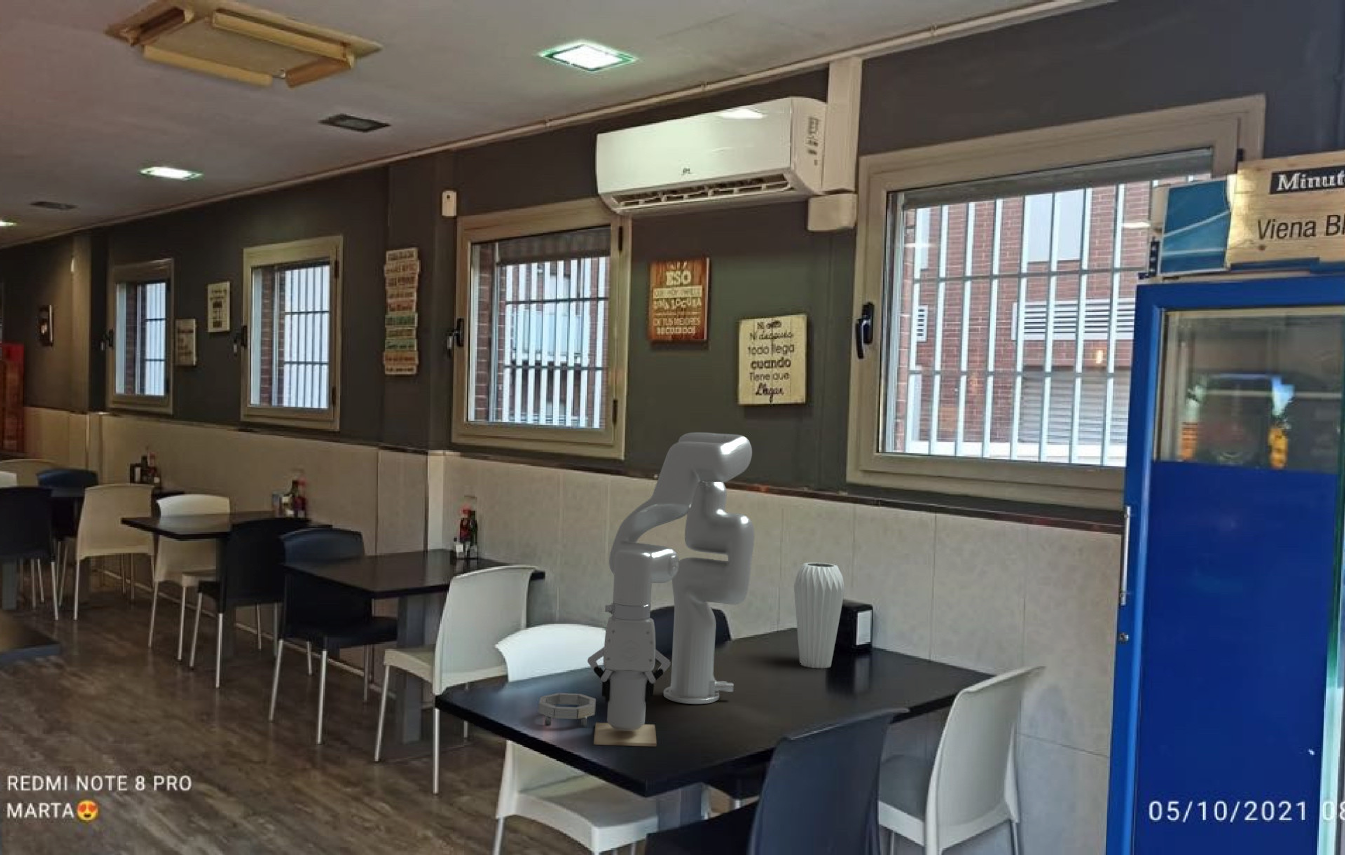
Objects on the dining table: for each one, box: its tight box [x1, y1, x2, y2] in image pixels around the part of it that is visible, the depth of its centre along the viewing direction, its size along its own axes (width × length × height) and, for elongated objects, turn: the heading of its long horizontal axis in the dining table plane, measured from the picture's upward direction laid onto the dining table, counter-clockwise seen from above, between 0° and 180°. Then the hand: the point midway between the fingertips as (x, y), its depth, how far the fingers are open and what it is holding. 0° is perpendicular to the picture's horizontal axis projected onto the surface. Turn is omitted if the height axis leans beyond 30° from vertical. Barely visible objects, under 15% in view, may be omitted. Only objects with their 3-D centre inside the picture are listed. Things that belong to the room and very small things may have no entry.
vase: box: [793, 562, 846, 669], centre depth 275 cm, size 13×13×26 cm
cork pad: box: [593, 722, 657, 747], centre depth 207 cm, size 12×12×1 cm
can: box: [606, 670, 648, 731], centre depth 207 cm, size 8×8×12 cm
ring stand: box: [538, 692, 597, 728], centre depth 216 cm, size 11×11×4 cm
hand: (627, 700), depth 207 cm, fingers closed on can, 7 cm apart
